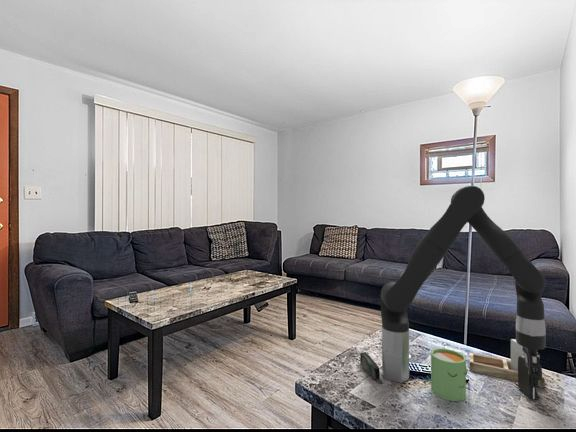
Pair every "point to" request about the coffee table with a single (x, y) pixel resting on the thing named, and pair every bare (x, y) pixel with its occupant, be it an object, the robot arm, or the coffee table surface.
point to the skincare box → (515, 354)
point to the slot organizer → (495, 367)
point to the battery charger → (526, 379)
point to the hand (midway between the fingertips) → (530, 380)
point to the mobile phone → (370, 366)
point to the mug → (448, 374)
